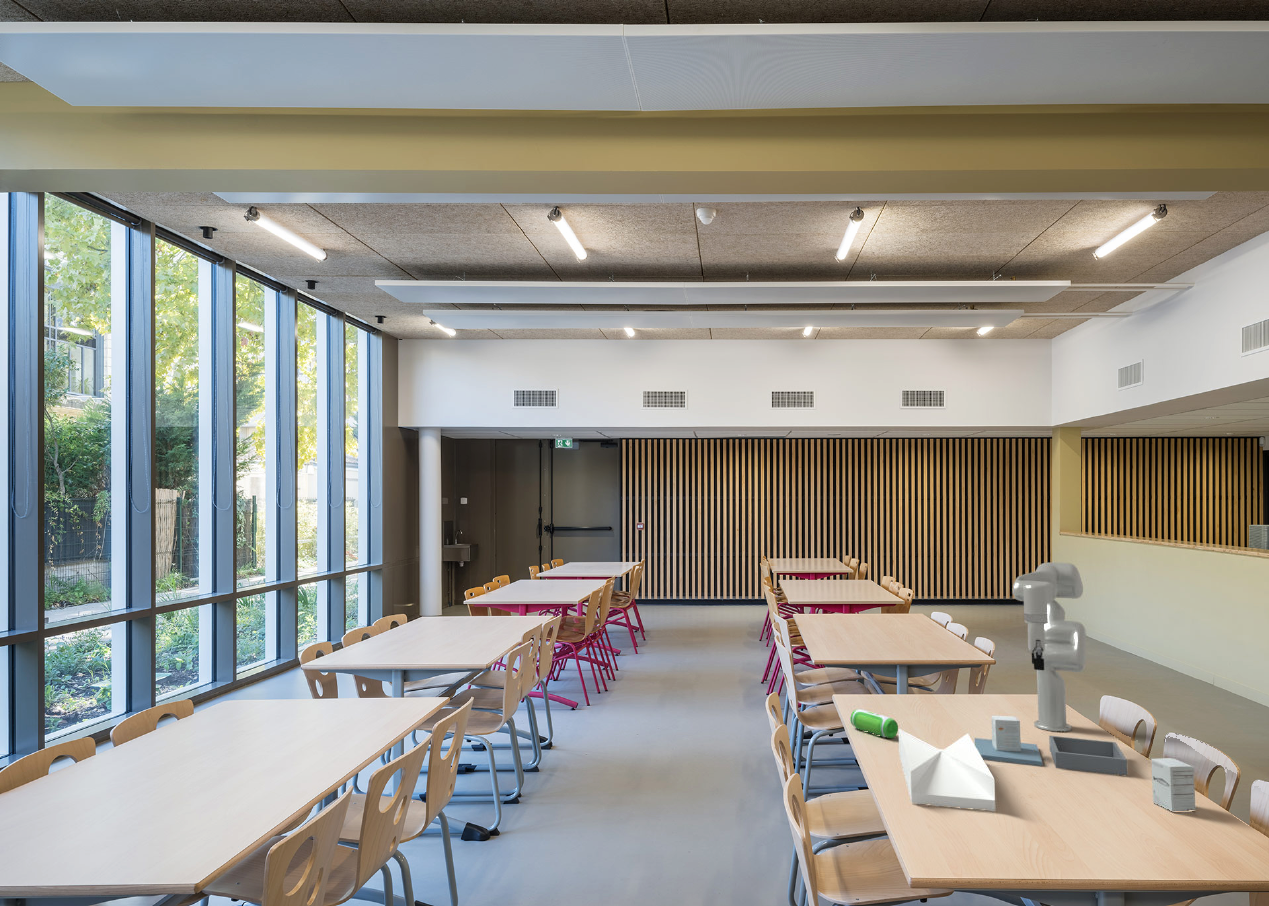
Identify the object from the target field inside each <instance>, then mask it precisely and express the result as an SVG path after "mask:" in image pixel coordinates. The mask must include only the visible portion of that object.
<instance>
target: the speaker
mask: <svg viewBox="0 0 1269 906" xmlns="http://www.w3.org/2000/svg"><path fill="white" fill-rule="evenodd" d="M850 724H851V725H852V727H854V728H856V729H858V730H859V729H860V730H859V731H861V730H864V731H868V732H870V733H874V734H876V735H880V736H882V737H881V738H885V737H887V738H886V739H892V738H895V737H896V736H897V734H898V733H899V725H898V722H897V721H896V720H895V719H893V718H892V717H889V716H886V715H882V714H879V713H876V712H873V711H869V710H866V709H860V708H859V709H858V708H857V709H855V710H853V711H852V713H851V714H850ZM876 735H875V736H876Z"/></svg>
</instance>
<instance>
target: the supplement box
mask: <svg viewBox="0 0 1269 906" xmlns="http://www.w3.org/2000/svg"><path fill="white" fill-rule="evenodd" d="M1150 759H1151V778H1152V779H1151V780H1152V781H1151V783H1152V803H1153V802H1154V803H1155V804H1156V805H1157V804H1158V805H1157V806H1159V807H1161V806H1162V807H1161V808H1163V807H1164V808H1163V809H1165V808H1166V809H1165V810H1167V809H1169V810H1170V811H1189V810H1195V811H1196V793H1195V792H1196V788H1195V767H1194V766H1193V765H1190V764H1188V763H1186V762H1183V761H1181V760H1178V759H1177V758H1174V757H1167V758H1166V757H1165V758H1163V757H1162V758H1150ZM1154 803H1153V804H1154ZM1155 804H1154V805H1155ZM1169 810H1168V811H1169ZM1170 811H1169V812H1170Z"/></svg>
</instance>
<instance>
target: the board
mask: <svg viewBox="0 0 1269 906" xmlns="http://www.w3.org/2000/svg"><path fill="white" fill-rule="evenodd" d="M974 745H975V747H976V748H977V750H978V752H979V753H980V755H981V757H982V759H987V760H986V761H993V762H1000V761H1002V762H1001V763H1010V764H1018V765H1026V766H1035V765H1037V766H1036V767H1043V761H1042V760H1043V759H1042V757H1041V754H1040V751H1039V748H1038V744H1035V743H1026V742H1025V743H1024V742H1021V752H1018V751H997V750H996V749H995V748H994V747H993V744H992V739H987V738H978V737H974Z"/></svg>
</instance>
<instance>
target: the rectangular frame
mask: <svg viewBox="0 0 1269 906" xmlns="http://www.w3.org/2000/svg"><path fill="white" fill-rule="evenodd" d="M1048 739H1049V740H1048V741H1049V752H1051V753H1050V755H1051V759H1052V760H1053V763H1054V766H1055V768H1056V769H1062V770H1063V769H1064V770H1071V771H1078V772H1079V771H1081V772H1089V773H1096V772H1097V773H1098V774H1106V775H1114V774H1119V775H1118V776H1122V775H1129V773H1128V759H1127V758H1126V755H1124V753H1123V752H1122V749H1120V747H1119V745H1118V743H1117V742H1116V741H1106V740H1098V739H1097V740H1096V739H1087V738H1077V737H1076V738H1075V737H1069V736H1068V737H1067V736H1057V735H1048Z"/></svg>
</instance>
